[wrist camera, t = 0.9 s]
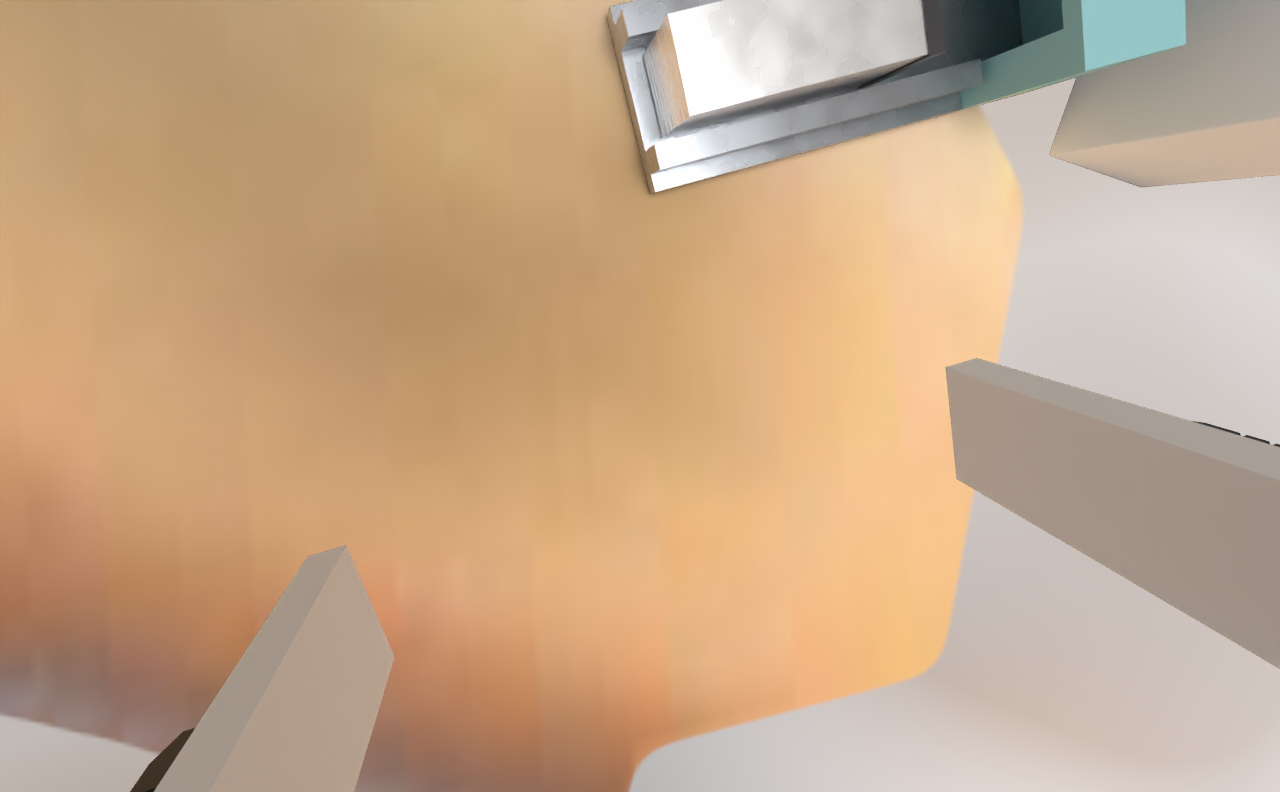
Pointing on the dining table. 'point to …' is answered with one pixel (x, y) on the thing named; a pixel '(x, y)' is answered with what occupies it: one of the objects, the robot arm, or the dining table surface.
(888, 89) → the guide channel
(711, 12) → the sliding block
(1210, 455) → the robot arm
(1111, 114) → the milk carton
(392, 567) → the dining table surface
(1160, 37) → the socket housing
